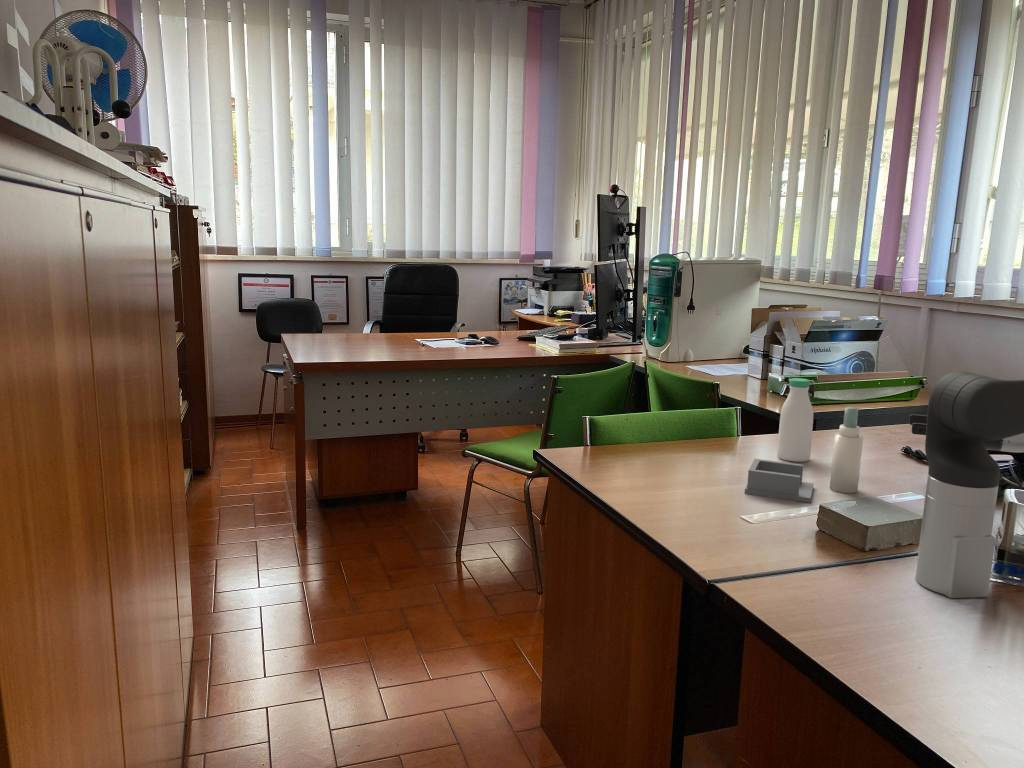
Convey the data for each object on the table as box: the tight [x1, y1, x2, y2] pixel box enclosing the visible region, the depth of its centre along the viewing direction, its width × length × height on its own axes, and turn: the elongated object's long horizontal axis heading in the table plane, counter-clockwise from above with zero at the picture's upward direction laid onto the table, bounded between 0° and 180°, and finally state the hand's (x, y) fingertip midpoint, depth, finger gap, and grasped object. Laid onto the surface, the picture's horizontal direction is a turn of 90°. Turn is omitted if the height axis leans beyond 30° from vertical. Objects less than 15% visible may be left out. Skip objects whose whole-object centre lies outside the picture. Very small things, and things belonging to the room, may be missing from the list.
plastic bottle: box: [829, 406, 864, 494], centre depth 160 cm, size 6×6×18 cm
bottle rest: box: [744, 458, 815, 504], centre depth 159 cm, size 11×13×5 cm
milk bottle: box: [776, 377, 814, 463], centre depth 183 cm, size 8×8×20 cm
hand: (910, 423), depth 154 cm, fingers open, 8 cm apart
